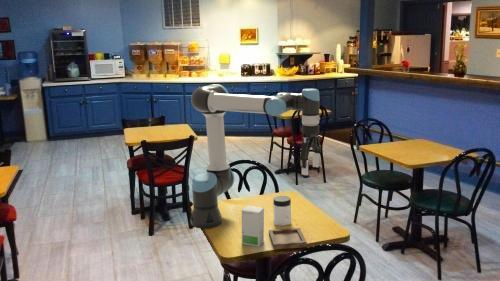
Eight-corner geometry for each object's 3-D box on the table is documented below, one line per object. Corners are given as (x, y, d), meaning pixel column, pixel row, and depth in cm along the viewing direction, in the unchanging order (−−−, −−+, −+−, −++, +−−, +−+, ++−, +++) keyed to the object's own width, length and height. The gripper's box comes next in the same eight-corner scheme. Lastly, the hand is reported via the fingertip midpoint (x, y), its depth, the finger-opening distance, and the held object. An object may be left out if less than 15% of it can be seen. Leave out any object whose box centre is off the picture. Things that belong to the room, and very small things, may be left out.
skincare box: (241, 244, 200) (240, 210, 196) (247, 238, 206) (245, 204, 202) (259, 247, 197) (258, 212, 193) (264, 240, 203) (264, 206, 199)
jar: (280, 227, 216) (279, 203, 213) (269, 222, 223) (269, 198, 220) (295, 222, 221) (294, 198, 218) (284, 217, 228) (284, 194, 225)
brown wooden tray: (273, 249, 194) (273, 244, 194) (268, 234, 209) (268, 229, 208) (306, 246, 196) (306, 242, 195) (299, 232, 210) (299, 227, 210)
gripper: (308, 130, 192) (308, 179, 197) (328, 119, 213) (327, 164, 218) (291, 129, 196) (291, 177, 200) (312, 118, 217) (312, 162, 222)
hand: (310, 170), depth 209 cm, fingers open, 13 cm apart
